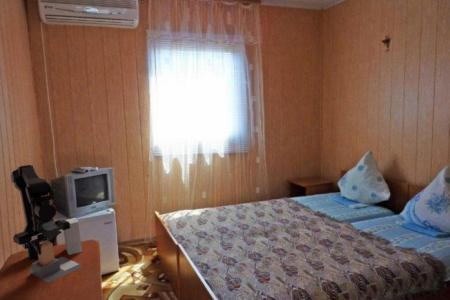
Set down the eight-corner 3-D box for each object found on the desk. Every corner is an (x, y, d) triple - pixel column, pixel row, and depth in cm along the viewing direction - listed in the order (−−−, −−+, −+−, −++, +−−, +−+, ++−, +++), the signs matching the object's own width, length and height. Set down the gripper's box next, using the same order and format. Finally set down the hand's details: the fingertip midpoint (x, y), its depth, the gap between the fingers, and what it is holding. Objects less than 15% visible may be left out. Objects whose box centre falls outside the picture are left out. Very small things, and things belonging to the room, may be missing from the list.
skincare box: (82, 253, 137) (79, 221, 136) (67, 257, 134) (64, 225, 132) (79, 247, 144) (76, 216, 142) (65, 250, 141) (62, 219, 139)
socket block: (27, 273, 122) (26, 261, 121) (63, 258, 133) (61, 247, 133) (47, 285, 113) (46, 272, 112) (83, 268, 124) (82, 256, 124)
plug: (39, 263, 121) (36, 243, 119) (49, 259, 124) (47, 239, 123) (44, 266, 118) (41, 245, 117) (54, 262, 122) (52, 241, 120)
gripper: (23, 225, 106) (29, 268, 108) (75, 210, 121) (79, 247, 123) (10, 220, 113) (15, 260, 115) (61, 206, 128) (65, 241, 130)
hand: (45, 252), depth 120 cm, fingers closed on plug, 4 cm apart
